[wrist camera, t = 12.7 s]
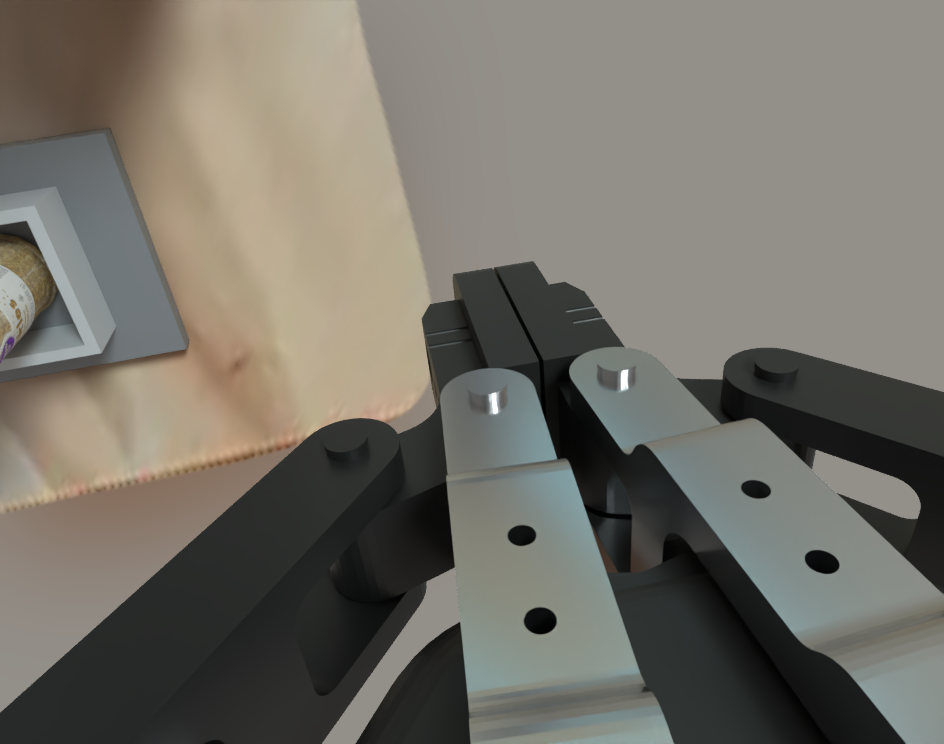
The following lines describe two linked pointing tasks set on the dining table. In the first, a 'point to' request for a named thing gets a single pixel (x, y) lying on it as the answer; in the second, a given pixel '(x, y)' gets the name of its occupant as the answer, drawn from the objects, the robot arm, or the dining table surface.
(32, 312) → the sprinkles bottle
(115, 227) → the bottle stand
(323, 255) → the dining table surface
